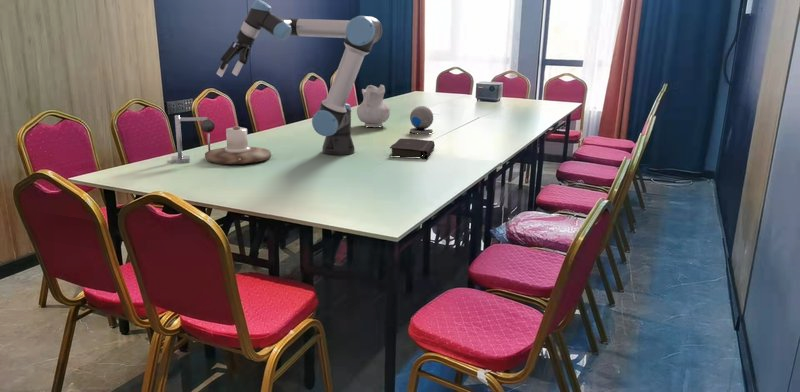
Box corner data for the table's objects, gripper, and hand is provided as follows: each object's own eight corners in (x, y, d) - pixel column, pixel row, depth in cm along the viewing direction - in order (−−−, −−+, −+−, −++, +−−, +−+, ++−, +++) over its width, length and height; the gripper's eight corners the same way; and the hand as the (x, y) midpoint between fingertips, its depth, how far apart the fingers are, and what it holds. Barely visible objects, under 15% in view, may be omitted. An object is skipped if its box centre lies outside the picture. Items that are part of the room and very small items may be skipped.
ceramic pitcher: (387, 132, 341) (391, 88, 334) (353, 128, 341) (357, 84, 334) (388, 126, 362) (392, 84, 355) (356, 122, 362) (360, 81, 355)
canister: (249, 147, 273) (248, 124, 270) (251, 152, 263) (250, 128, 260) (224, 148, 270) (223, 125, 267) (225, 153, 260) (223, 129, 257)
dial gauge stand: (216, 157, 264) (213, 113, 258) (216, 161, 257) (214, 116, 252) (172, 159, 258) (168, 114, 253) (171, 163, 252) (167, 117, 246)
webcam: (436, 132, 339) (437, 106, 334) (425, 135, 328) (426, 108, 324) (417, 129, 345) (417, 103, 341) (405, 132, 335) (406, 106, 331)
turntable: (267, 148, 280) (267, 145, 279) (274, 162, 254) (273, 158, 254) (205, 151, 271) (204, 147, 271) (205, 165, 246) (204, 161, 245)
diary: (434, 150, 295) (435, 140, 294) (427, 161, 271) (428, 150, 270) (397, 147, 298) (397, 137, 297) (387, 157, 274) (387, 147, 273)
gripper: (254, 30, 274) (234, 69, 281) (226, 27, 250) (205, 71, 257) (267, 39, 273) (246, 78, 280) (241, 37, 250) (219, 80, 257)
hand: (226, 75), depth 269 cm, fingers open, 13 cm apart
